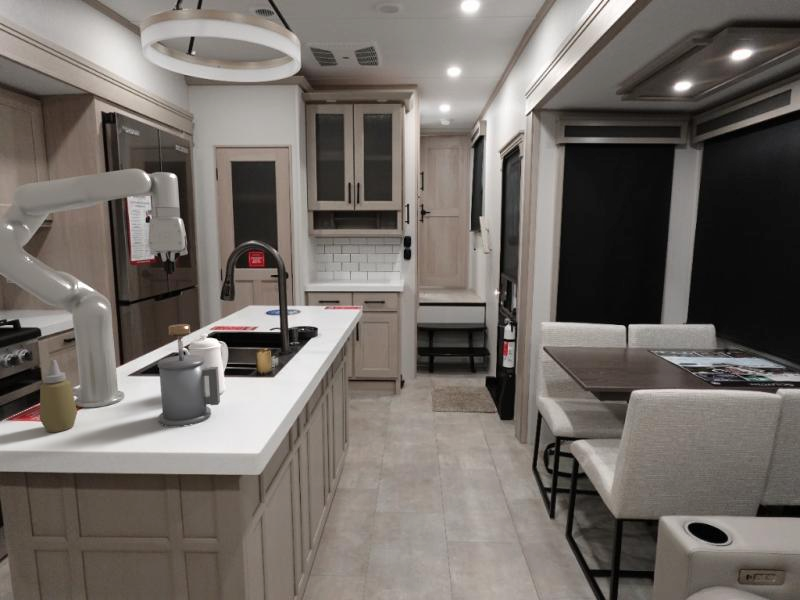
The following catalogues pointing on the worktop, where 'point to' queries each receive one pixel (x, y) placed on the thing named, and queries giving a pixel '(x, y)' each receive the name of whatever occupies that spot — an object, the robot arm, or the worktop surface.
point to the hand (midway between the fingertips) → (170, 273)
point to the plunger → (179, 336)
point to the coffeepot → (210, 357)
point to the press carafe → (186, 390)
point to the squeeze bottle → (57, 401)
